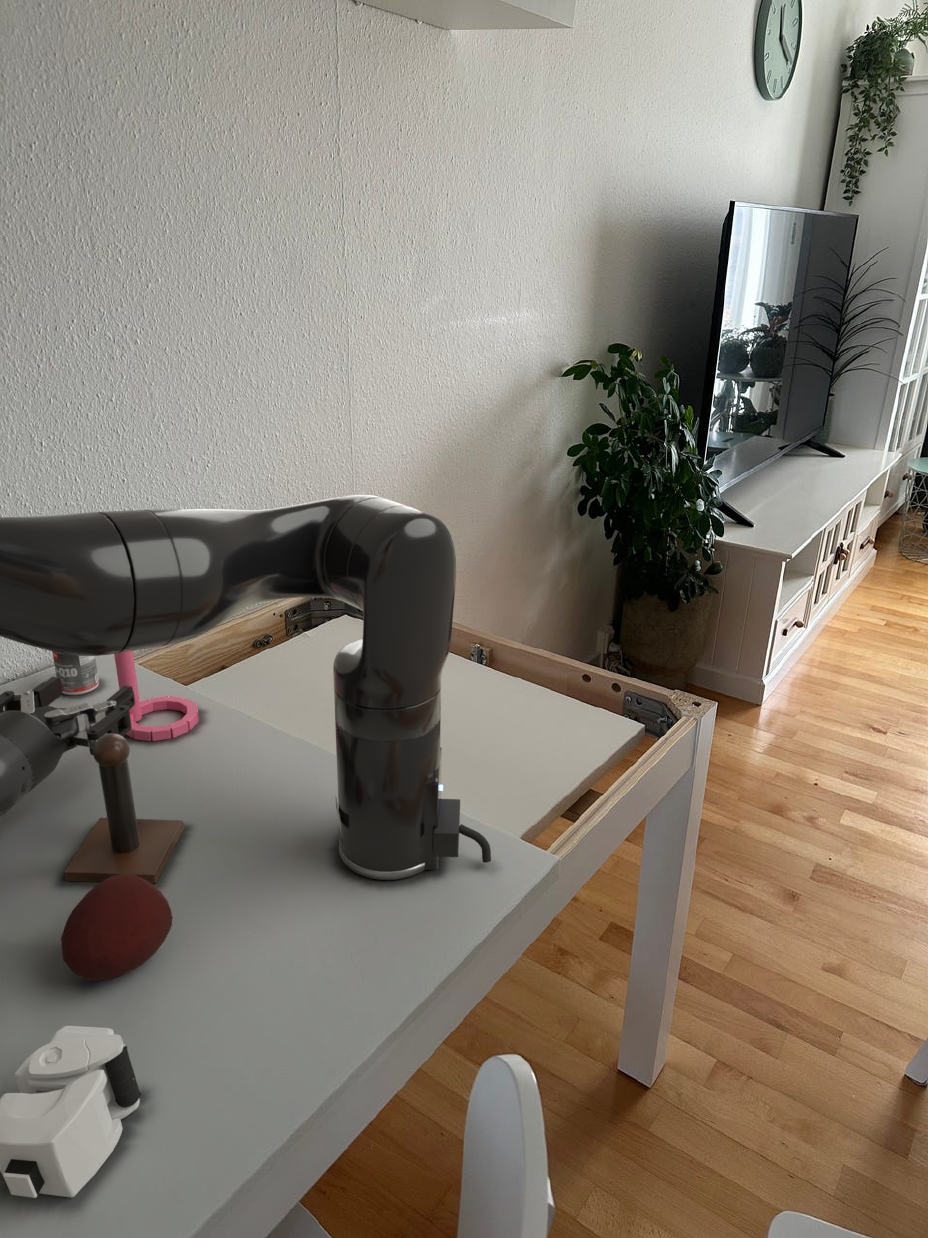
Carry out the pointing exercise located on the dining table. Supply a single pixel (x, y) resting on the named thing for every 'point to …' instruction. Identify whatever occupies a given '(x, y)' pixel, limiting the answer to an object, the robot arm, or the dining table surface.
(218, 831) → the dining table surface
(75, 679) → the pill bottle
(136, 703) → the pink ring with post
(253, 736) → the dining table surface
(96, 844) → the stand
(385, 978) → the dining table surface
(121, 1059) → the white plastic gadget
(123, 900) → the potato
